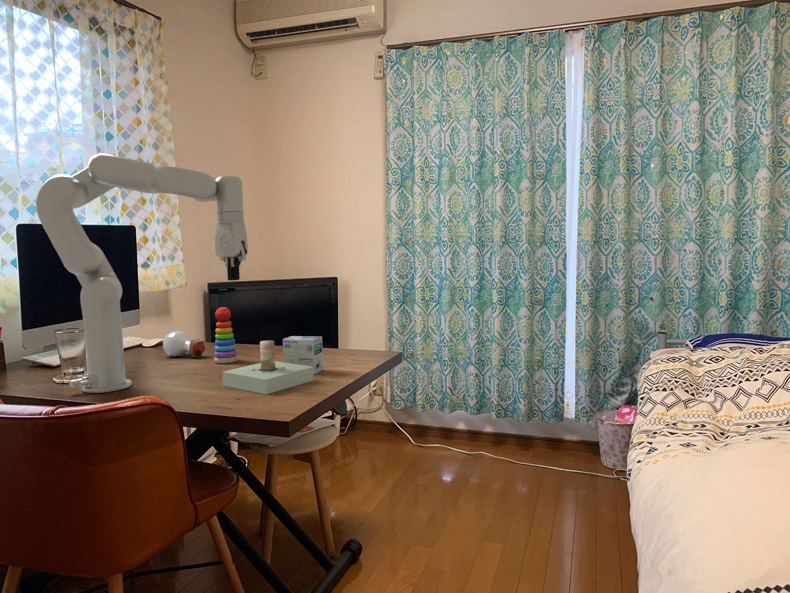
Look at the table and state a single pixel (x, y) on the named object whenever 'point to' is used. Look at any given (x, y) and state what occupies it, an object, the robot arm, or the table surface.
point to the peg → (267, 355)
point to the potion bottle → (182, 345)
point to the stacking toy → (224, 338)
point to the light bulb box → (304, 351)
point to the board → (268, 377)
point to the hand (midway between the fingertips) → (233, 280)
